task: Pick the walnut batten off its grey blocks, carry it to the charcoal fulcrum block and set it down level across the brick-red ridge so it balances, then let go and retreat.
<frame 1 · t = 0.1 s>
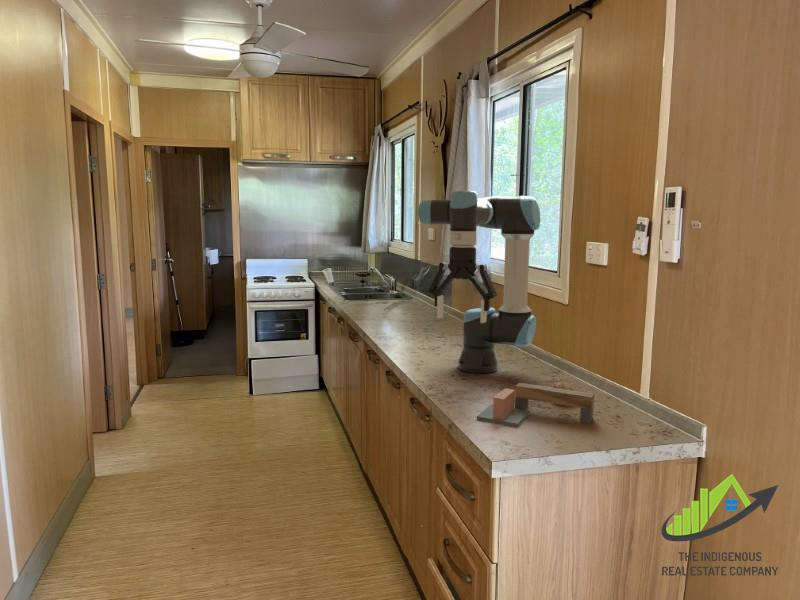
hand: (461, 320, 163), 28 cm above the counter, fingers open, 13 cm apart
mushroom: (564, 402, 178), on the counter
fulcrum: (503, 416, 164), on the counter
rod: (553, 401, 166), point 4 cm above the counter, touching grey blocks
grey blocks: (553, 414, 166), on the counter
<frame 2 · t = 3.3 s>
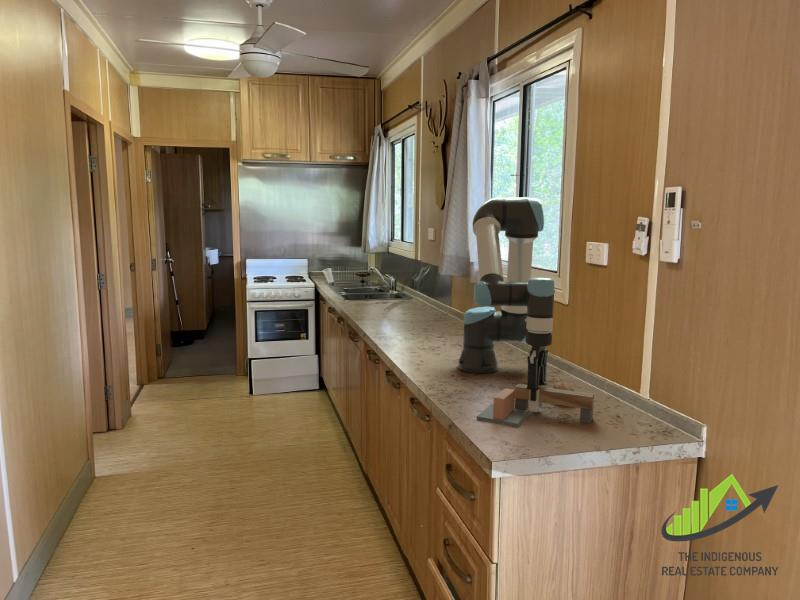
hand: (535, 408, 167), 1 cm above the counter, fingers closed on rod, 4 cm apart
rod: (553, 402, 165), point 4 cm above the counter, touching grey blocks, gripper
everything else where it was.
when the fingers open (4 cm above the counter, at t = 7.2 s): rod stays where it is, resting on fulcrum.
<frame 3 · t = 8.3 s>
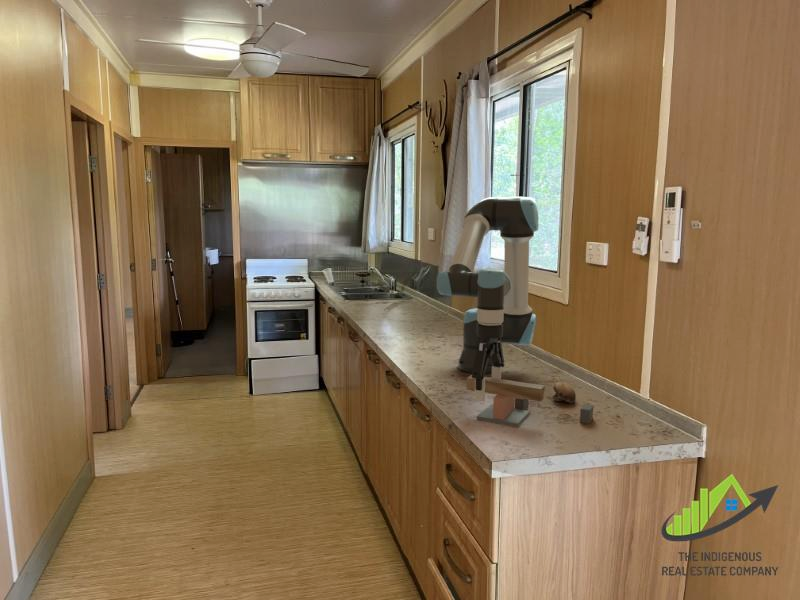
hand: (488, 394, 166), 6 cm above the counter, fingers open, 13 cm apart
rod: (504, 393, 163), point 7 cm above the counter, touching fulcrum
everything else where it was.
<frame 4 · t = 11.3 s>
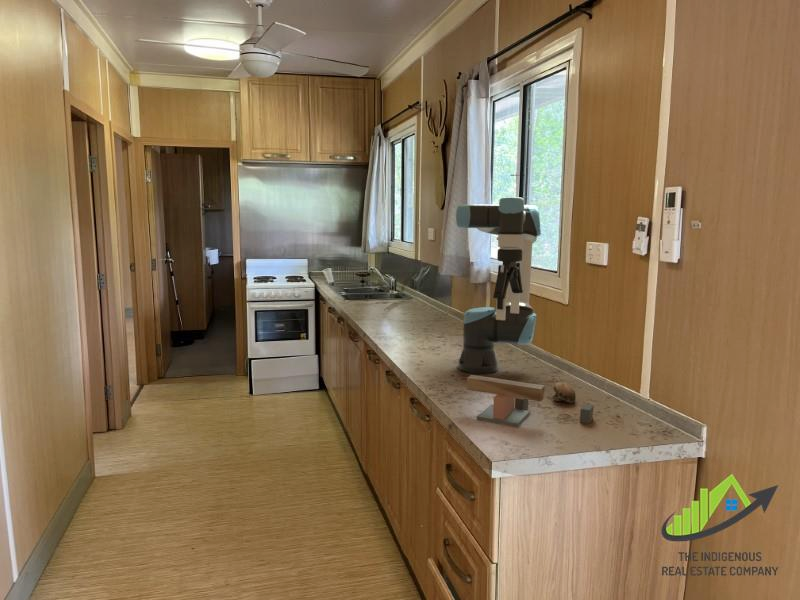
hand: (507, 316, 176), 27 cm above the counter, fingers open, 13 cm apart
nothing on the counter moved.
at the end: rod 0.1 cm off-centre on the fulcrum, point 7.0 cm above the fulcrum's base; rod tilted 0°; the gripper is holding nothing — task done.
